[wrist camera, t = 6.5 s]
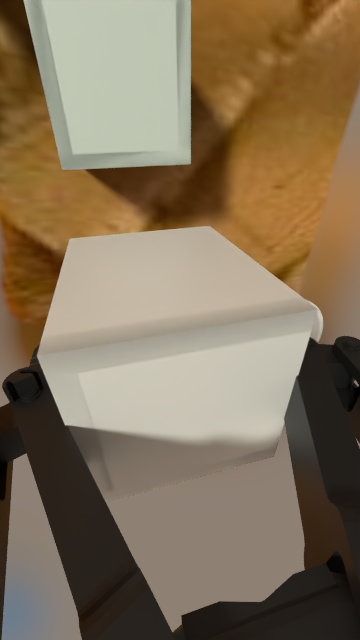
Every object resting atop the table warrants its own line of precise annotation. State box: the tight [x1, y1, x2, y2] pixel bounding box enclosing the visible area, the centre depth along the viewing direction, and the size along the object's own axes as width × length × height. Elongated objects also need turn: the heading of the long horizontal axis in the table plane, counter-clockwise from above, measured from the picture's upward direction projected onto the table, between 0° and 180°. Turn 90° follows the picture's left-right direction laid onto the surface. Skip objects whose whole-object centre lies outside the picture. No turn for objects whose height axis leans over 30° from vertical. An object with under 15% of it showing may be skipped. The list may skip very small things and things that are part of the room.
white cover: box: [37, 226, 318, 502], centre depth 14 cm, size 8×8×10 cm
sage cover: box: [24, 0, 191, 170], centre depth 19 cm, size 8×8×10 cm
